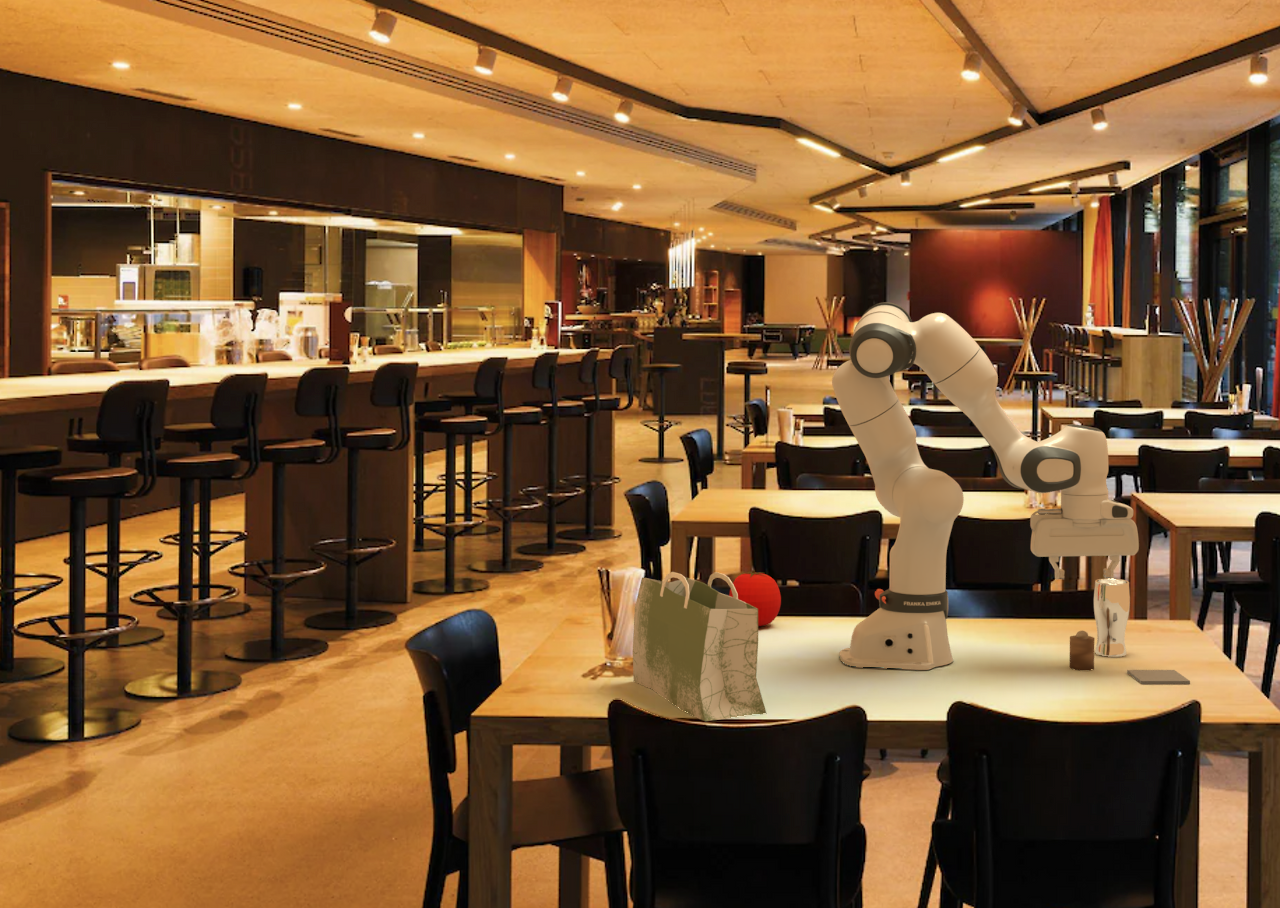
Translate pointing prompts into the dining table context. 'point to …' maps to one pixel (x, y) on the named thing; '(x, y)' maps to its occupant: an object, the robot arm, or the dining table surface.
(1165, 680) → the coaster
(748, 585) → the tomato
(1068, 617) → the dining table surface
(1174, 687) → the dining table surface
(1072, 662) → the pepper mill
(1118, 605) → the beer glass
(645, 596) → the grocery bag
